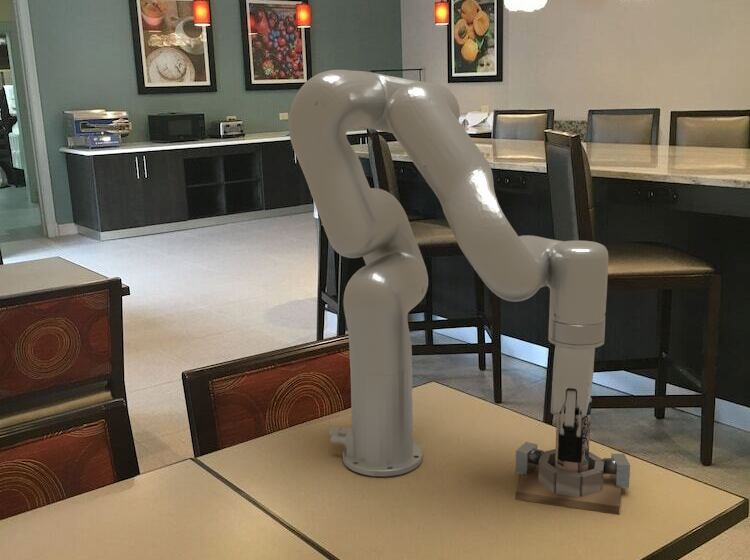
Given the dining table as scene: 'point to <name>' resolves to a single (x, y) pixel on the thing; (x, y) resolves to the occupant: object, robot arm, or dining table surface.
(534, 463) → the shaft in
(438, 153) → the robot arm
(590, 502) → the octagonal gimbal ring stand
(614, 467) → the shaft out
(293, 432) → the dining table surface
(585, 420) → the beer can
